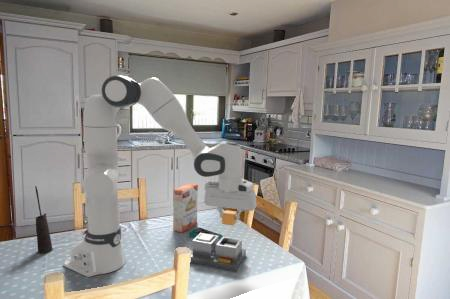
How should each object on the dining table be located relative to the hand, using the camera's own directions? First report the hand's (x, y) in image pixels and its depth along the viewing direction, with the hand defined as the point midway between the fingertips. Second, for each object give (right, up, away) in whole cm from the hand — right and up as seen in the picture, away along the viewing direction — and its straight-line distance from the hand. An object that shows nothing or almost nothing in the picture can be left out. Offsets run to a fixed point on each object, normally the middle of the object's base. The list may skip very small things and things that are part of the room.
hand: (229, 218), depth 120 cm
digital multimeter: (-11, -15, +23) cm, 30 cm away
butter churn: (-76, -15, +9) cm, 78 cm away
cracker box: (-21, -13, +35) cm, 43 cm away
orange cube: (0, -2, 0) cm, 2 cm away
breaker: (-10, -12, +5) cm, 16 cm away
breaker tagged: (0, -15, +2) cm, 15 cm away
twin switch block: (-5, -17, +5) cm, 18 cm away
